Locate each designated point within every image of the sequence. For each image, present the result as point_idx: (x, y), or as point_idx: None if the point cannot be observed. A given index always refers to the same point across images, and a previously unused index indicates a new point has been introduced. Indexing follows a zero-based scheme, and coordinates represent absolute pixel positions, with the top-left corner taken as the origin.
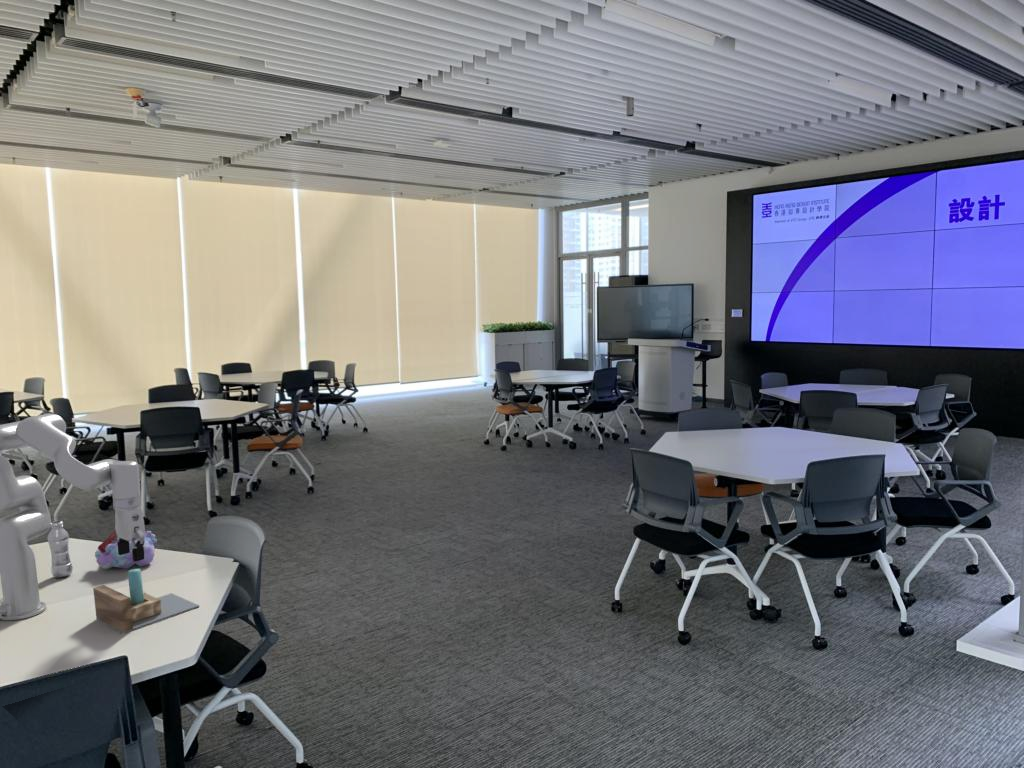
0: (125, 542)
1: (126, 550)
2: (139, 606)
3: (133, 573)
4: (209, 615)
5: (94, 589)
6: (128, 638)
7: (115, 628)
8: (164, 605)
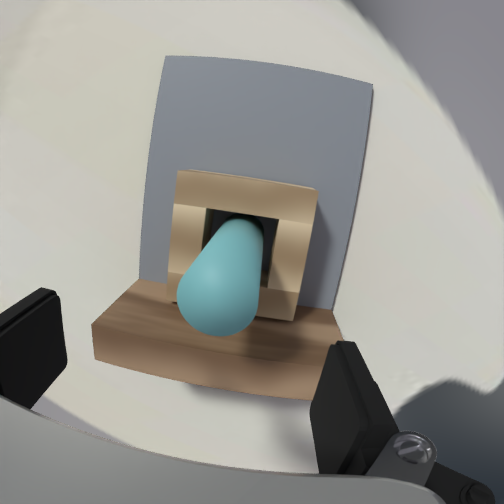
0: (4, 372)
1: (48, 328)
2: (298, 275)
3: (248, 322)
4: (454, 130)
5: (106, 360)
6: (364, 342)
7: None
8: (250, 134)
